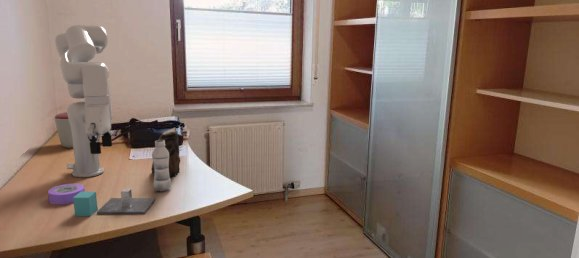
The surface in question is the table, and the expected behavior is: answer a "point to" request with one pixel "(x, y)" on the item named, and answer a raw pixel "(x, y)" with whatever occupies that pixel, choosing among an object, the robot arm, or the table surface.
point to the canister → (64, 129)
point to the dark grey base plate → (126, 204)
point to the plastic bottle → (161, 166)
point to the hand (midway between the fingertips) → (101, 149)
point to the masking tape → (64, 193)
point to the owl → (171, 151)
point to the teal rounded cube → (85, 203)
